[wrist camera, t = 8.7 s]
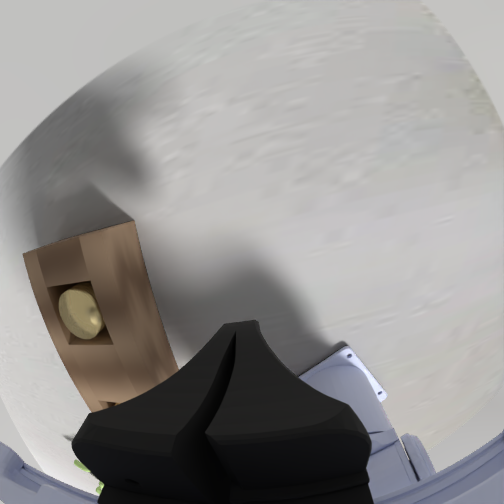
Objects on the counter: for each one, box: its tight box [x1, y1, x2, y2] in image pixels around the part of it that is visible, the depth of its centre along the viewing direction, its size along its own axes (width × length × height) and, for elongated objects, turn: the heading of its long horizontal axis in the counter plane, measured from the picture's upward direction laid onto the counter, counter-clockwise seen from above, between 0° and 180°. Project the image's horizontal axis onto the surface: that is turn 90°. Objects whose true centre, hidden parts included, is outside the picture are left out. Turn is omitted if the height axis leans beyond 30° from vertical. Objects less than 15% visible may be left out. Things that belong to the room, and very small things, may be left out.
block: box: [23, 221, 179, 412], centre depth 20 cm, size 22×9×5 cm, turn 10°
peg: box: [59, 280, 106, 339], centre depth 19 cm, size 4×4×5 cm
